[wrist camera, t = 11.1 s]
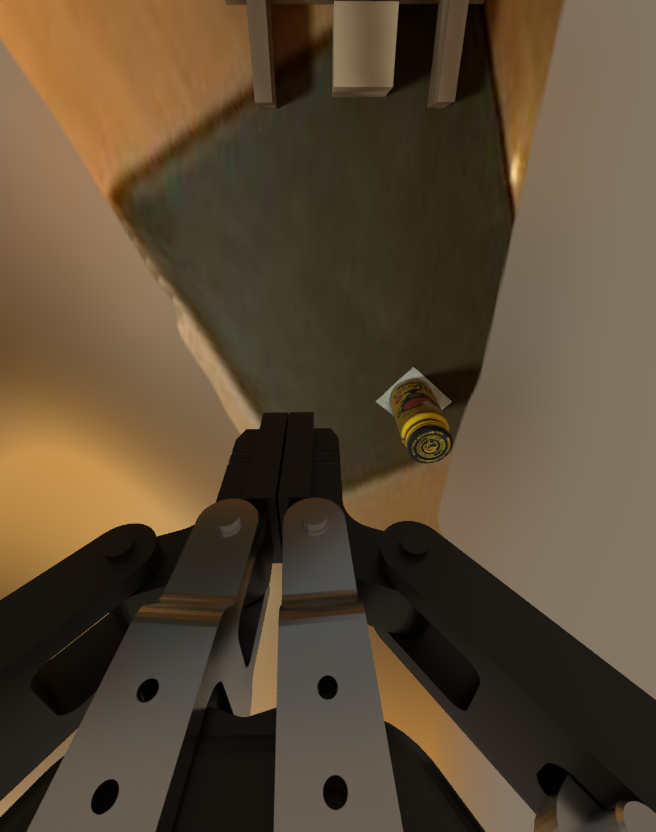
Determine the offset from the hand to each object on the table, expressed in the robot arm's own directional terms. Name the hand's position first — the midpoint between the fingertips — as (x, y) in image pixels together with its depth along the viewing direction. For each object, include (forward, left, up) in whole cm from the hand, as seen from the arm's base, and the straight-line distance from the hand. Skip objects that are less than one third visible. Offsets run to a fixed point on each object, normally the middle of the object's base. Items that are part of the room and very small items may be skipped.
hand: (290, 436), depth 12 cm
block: (+5, +15, -37) cm, 40 cm away
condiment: (+14, -21, -37) cm, 45 cm away
